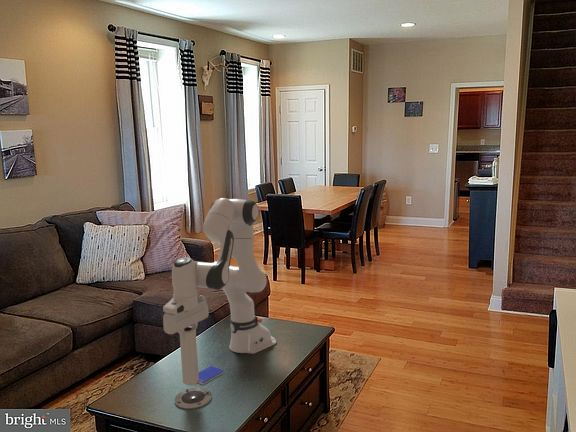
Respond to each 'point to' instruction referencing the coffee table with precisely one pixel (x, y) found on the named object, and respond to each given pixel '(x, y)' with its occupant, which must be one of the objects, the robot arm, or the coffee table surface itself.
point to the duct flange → (193, 398)
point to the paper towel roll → (189, 357)
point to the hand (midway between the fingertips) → (188, 336)
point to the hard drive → (209, 374)
